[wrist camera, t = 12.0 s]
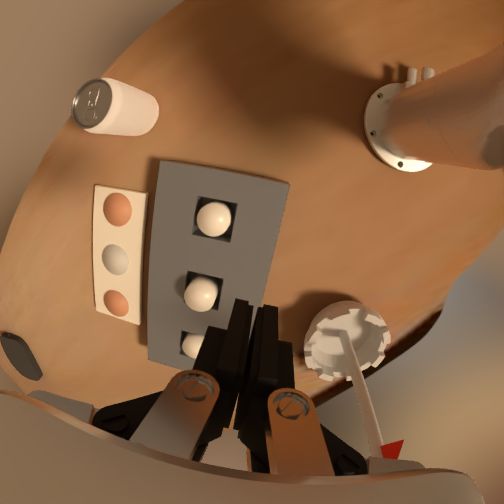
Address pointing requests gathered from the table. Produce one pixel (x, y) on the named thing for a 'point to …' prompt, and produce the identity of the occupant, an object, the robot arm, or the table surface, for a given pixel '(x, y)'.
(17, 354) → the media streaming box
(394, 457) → the flag stand
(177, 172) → the button panel
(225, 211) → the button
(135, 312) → the pattern card
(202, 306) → the middle button
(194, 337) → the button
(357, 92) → the table surface
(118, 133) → the can
